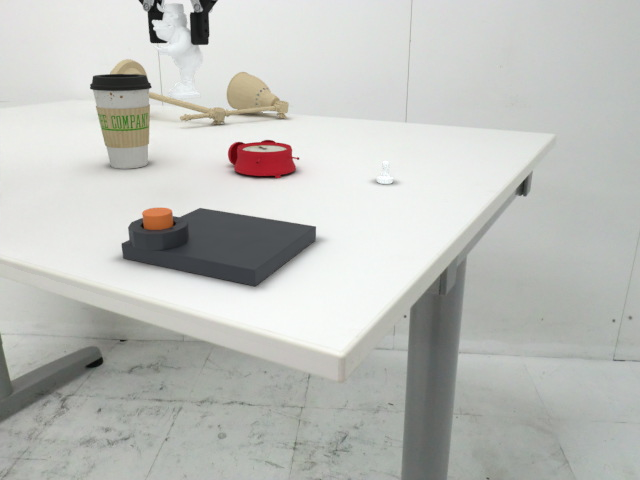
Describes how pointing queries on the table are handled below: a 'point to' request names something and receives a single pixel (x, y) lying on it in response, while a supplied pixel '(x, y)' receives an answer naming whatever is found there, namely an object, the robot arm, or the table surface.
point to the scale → (220, 244)
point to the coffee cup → (124, 117)
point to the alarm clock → (262, 158)
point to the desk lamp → (241, 95)
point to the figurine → (179, 49)
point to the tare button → (157, 218)
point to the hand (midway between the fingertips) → (179, 42)
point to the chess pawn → (385, 174)
